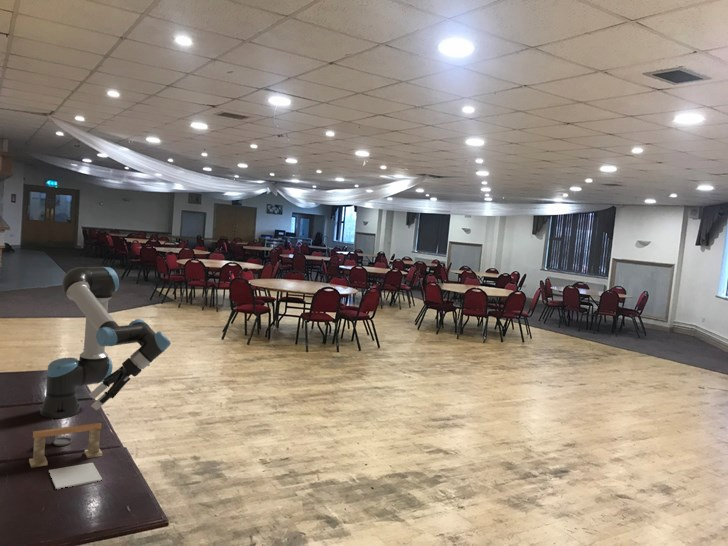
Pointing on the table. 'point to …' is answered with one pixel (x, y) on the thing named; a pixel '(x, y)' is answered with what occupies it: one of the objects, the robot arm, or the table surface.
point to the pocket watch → (61, 440)
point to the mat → (74, 475)
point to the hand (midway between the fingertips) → (92, 402)
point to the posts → (40, 449)
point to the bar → (66, 430)
